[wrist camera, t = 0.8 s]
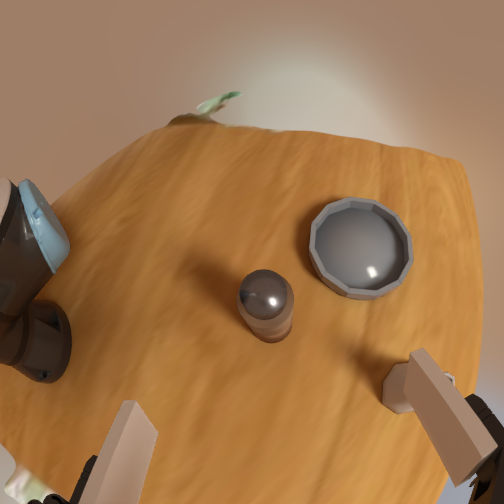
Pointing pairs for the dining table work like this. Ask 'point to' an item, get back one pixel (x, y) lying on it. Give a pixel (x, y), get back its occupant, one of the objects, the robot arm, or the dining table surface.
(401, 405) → the flask
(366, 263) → the round grey tray
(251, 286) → the pepper mill
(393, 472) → the dining table surface
